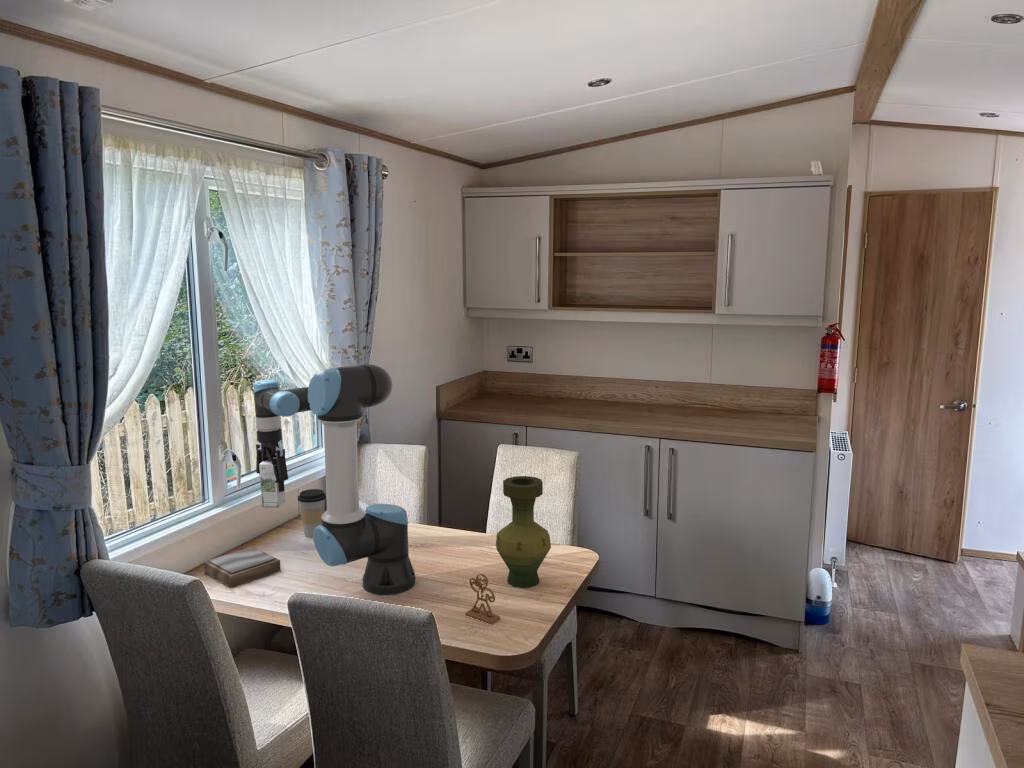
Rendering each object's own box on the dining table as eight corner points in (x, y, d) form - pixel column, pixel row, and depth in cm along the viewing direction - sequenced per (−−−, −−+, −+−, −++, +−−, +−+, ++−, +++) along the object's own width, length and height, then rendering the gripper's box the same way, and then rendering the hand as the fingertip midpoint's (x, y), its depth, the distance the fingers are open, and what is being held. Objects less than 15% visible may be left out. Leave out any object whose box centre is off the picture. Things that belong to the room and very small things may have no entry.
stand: (280, 570, 229) (279, 558, 229) (230, 587, 218) (229, 574, 217) (253, 557, 240) (252, 545, 239) (204, 572, 228) (203, 560, 228)
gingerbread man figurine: (500, 619, 198) (500, 575, 196) (491, 625, 194) (490, 580, 192) (473, 610, 203) (473, 567, 201) (464, 615, 200) (463, 572, 198)
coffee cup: (299, 531, 263) (296, 489, 260) (327, 528, 265) (325, 487, 263) (300, 541, 254) (297, 498, 251) (329, 537, 256) (326, 495, 254)
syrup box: (286, 502, 246) (283, 458, 244) (278, 508, 240) (275, 463, 238) (269, 502, 246) (266, 458, 244) (261, 508, 241) (258, 463, 238)
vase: (488, 574, 225) (486, 477, 221) (538, 566, 231) (537, 471, 226) (507, 597, 210) (506, 493, 205) (560, 587, 216) (560, 486, 211)
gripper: (297, 431, 235) (301, 502, 239) (262, 422, 249) (267, 489, 253) (275, 435, 230) (280, 507, 233) (241, 426, 244) (246, 495, 247)
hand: (273, 498), depth 243 cm, fingers closed on syrup box, 8 cm apart
